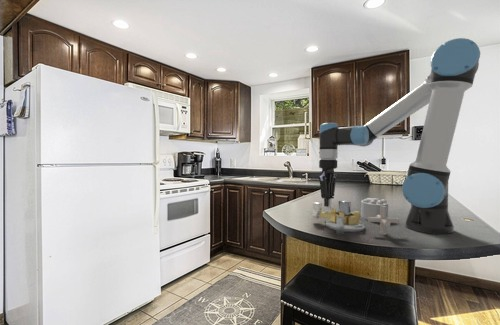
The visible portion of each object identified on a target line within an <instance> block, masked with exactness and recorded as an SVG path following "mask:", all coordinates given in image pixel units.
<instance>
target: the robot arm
mask: <svg viewBox="0 0 500 325" xmlns="http://www.w3.org/2000/svg"><path fill="white" fill-rule="evenodd" d="M480 57H481V50H480V48H479V46H478V44H477V43H476V42H475V41H474V40H472V39H470V38H465V37H460V38H454V39H449V40H448V41H445V42H444V43H442V44H441V45H440V46H438V47H437V48H436V49H435V51H433V54H432V55H431V59H430V68H431V70H430V73H429V75H428V76H426V77H425V79H424V82H422V83H421V84H420V85H418V86H417V87H415V88H414V89H413V90H411V91H410V92H408V93H407V94H406V95H404V96H403V97H401V98H400V99H399V100H398V101H396V102H395V103H393V104H391V105H390V106H389V107H388V108H386V109H385V110H383V111H382V112H381V113H380V114H378V115H377V116H375V117H374V118H372V119H371V120H370V121H368V122H367V123H366V124H364V125H355V126H354V125H353V126H344V127H343V126H342V127H339V125H338V123H336V122H325V123H322V124H320V125H319V133H318V135H319V147H318V148H319V149H318V150H319V151H318V154H319V155H318V157H319V160H318V167H319V169H321V175H318V181H319V188H320V189H319V190H320V197H321V199H323V212H328V213H330V212H331V209H332V199H335V198H334V197H335V190H336V182H337V177H338V175H337V174H335V169H337V168H338V160H337V159H338V157H339V156H338V146H358V147H368V146H370V145H371V144H373V142H374V140H376V139H377V138H379V137H381V136H382V135H384V134H385V133H387V132H388V131H390V129H392V128H394V127H396V126H397V125H399V124H400V123H402V122H403V121H404V120H406V119H407V118H409V117H410V116H412V115H413V114H415V113H416V112H418V111H420V110H421V109H423V108H424V107H426V106H427V105H428V106H427V111H426V115H425V119H424V124H423V128H422V132H421V138H420V140H419V141H420V142H419V146H418V150H417V155H416V159H415V161H413V162H411V163H410V164H409V166H408V170H407V174H406V178H405V179H404V180H403V183H402V185H401V186H402V187H401V190H402V191H401V193H402V195H403V197H404V198H405V199H406V201H407V202H408V203H409V204H410V208H409V211H408V213H407V216H406V219H405V227H406V228H408V229H411V230H413V231H418V232H422V233H426V234H435V235H437V234H438V235H448V234H453V233H454V229H455V228H454V224H453V221H452V218H451V215H450V212H449V180H450V176H451V172H452V171H451V170H450V169H449V167H448V166H447V164H448V159H449V155H450V152H451V148H452V145H453V144H452V143H453V141H454V135H455V132H456V128H457V123H458V120H459V116H460V111H461V107H462V104H463V99H464V96H465V92H466V91H468V90H469V89H470V88H472V87H473V84H474V80H475V77H476V74H477V72H478V70H479V66H480V65H479V64H480V63H479V62H480Z"/></svg>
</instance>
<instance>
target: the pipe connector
mask: <svg viewBox="0 0 500 325" xmlns="http://www.w3.org/2000/svg"><path fill="white" fill-rule="evenodd" d="M366 221H367V222H368V223H379V234H380V235H381V236H386V235H387V232H386V230H387V229H386V228H387V227H390V226H391V224H400V218H398V217H388V218H386V206H380V215H377V216H376V217H368V218H367V219H366Z"/></svg>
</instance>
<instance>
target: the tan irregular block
mask: <svg viewBox="0 0 500 325" xmlns="http://www.w3.org/2000/svg"><path fill="white" fill-rule="evenodd" d="M322 205H323V203H322V202H316V201H313V202H312V219H313V218H314V219H322V218H323V219H330V221H332V222H334V223H336V219H337V217H344V224H345V225H346V224H348V225H353V224H359V223H360V221H361V211H358V210H354V211H351V216H345V212H339V210H338V211H337V208H331V212H330V213H328V212H324V211H323V210H322V208H323V206H322Z"/></svg>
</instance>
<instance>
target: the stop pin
mask: <svg viewBox="0 0 500 325" xmlns="http://www.w3.org/2000/svg"><path fill="white" fill-rule="evenodd" d="M335 231H336V233H335V235H337V236H344V217H337V219H336V230H335Z"/></svg>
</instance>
